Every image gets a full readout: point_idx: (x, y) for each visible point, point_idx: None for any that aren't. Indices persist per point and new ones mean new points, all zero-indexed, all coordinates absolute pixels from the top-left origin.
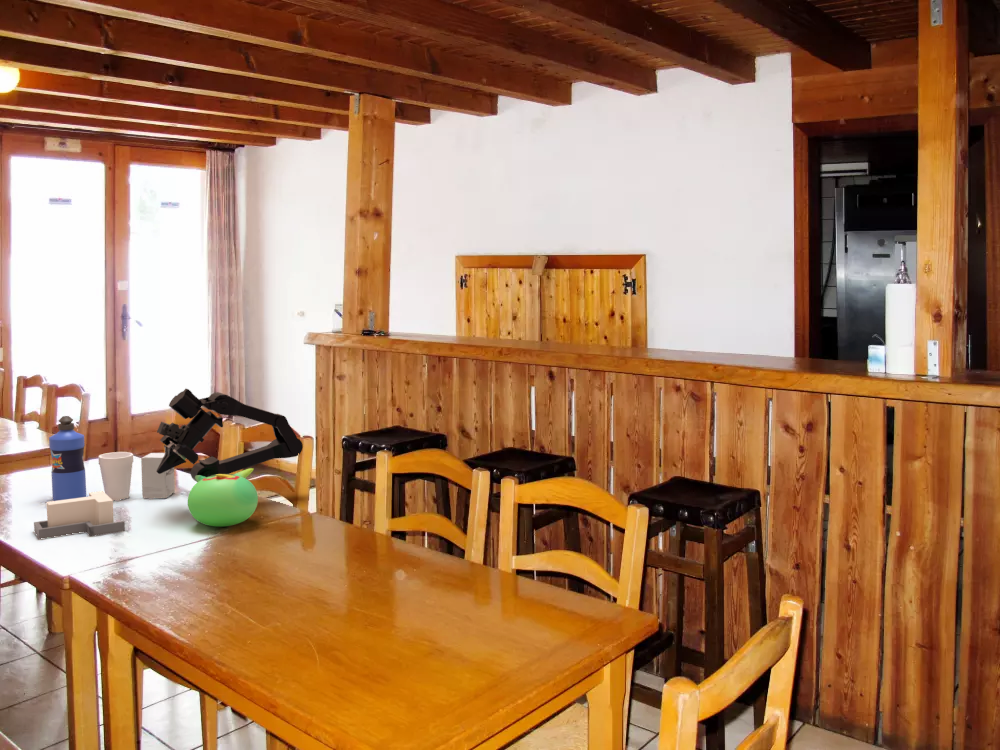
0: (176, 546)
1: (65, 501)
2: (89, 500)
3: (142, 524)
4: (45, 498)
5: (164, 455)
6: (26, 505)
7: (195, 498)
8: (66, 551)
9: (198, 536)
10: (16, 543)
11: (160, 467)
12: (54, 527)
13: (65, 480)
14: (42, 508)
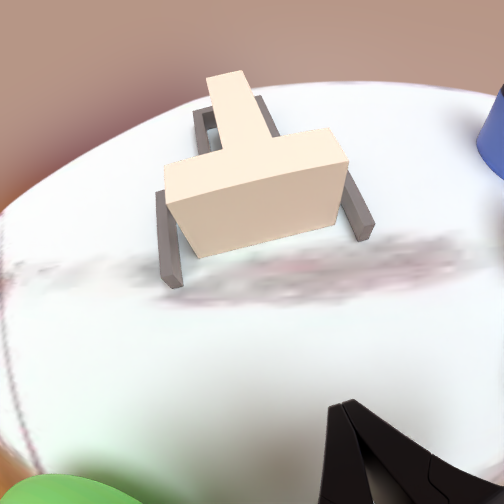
0: (15, 390)
1: (227, 95)
2: (221, 139)
3: (229, 341)
4: None
5: (469, 487)
6: (454, 103)
7: (15, 484)
8: (90, 184)
9: (56, 459)
10: (191, 106)
11: (325, 442)
12: (195, 129)
13: (498, 112)
14: (440, 117)
